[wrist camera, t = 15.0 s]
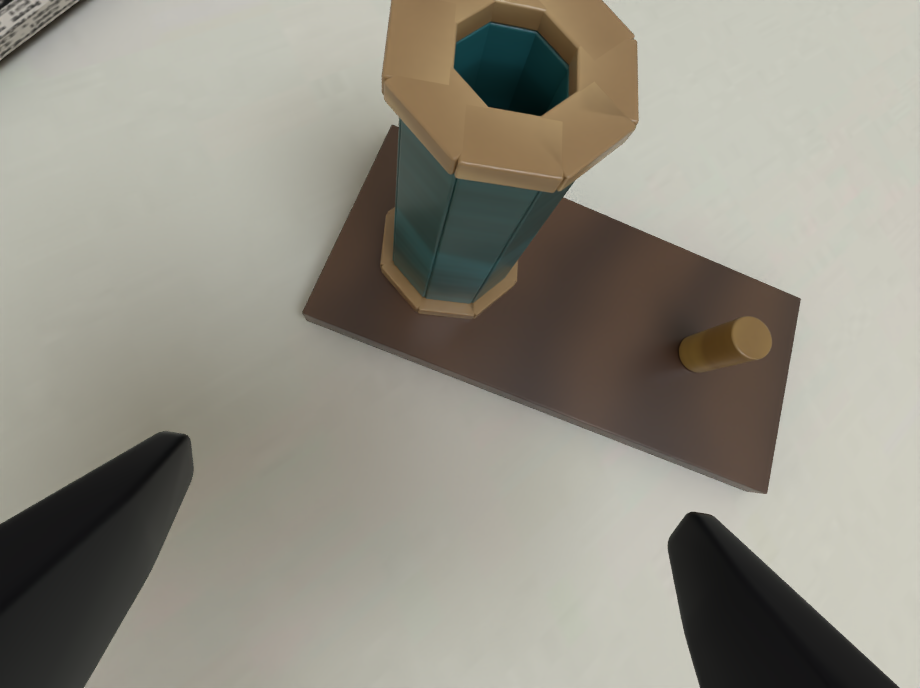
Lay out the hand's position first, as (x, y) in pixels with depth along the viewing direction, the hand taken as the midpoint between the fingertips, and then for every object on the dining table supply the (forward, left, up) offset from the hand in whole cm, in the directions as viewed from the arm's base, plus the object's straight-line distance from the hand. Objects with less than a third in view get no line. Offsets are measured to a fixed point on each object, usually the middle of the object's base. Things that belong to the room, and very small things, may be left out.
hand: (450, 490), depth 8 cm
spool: (+8, -5, -11) cm, 14 cm away
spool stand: (+4, -9, -12) cm, 16 cm away
